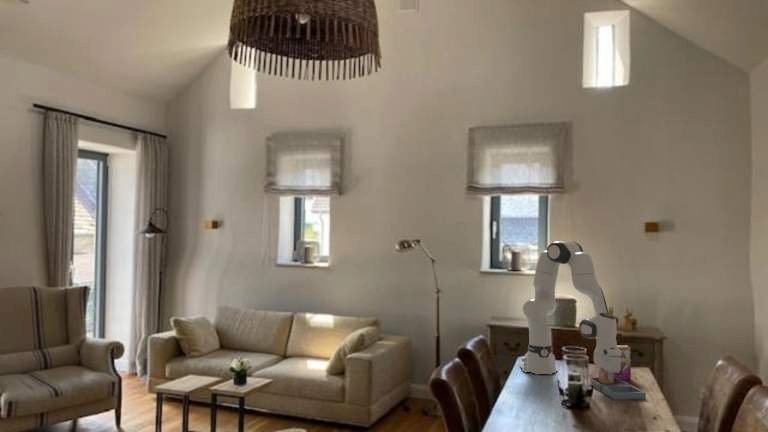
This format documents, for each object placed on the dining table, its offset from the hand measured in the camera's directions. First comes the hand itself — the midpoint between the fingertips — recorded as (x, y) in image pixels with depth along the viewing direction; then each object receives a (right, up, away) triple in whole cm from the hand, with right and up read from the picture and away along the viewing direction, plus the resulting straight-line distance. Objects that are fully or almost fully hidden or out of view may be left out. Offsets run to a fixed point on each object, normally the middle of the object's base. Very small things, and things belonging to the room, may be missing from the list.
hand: (606, 377), depth 273 cm
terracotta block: (0, -2, 0) cm, 2 cm away
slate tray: (+2, -4, -15) cm, 15 cm away
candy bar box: (+11, -5, +14) cm, 19 cm away
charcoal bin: (+1, -4, 0) cm, 4 cm away
